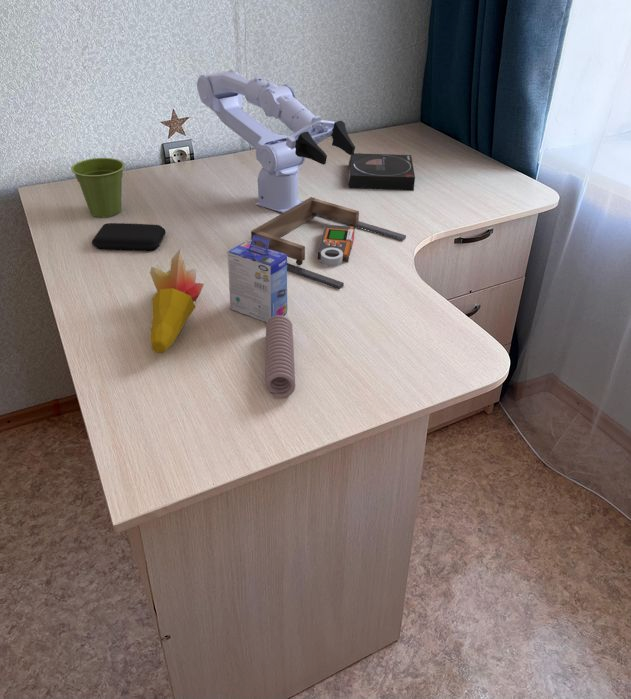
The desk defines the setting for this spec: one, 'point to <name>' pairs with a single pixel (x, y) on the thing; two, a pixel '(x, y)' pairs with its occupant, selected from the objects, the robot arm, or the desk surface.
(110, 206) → the plant pot
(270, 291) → the ink cartridge box
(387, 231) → the track
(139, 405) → the desk surface
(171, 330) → the torch
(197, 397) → the desk surface
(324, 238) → the electronic device
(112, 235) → the carrying case or bag
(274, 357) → the coil
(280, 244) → the dolly
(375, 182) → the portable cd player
